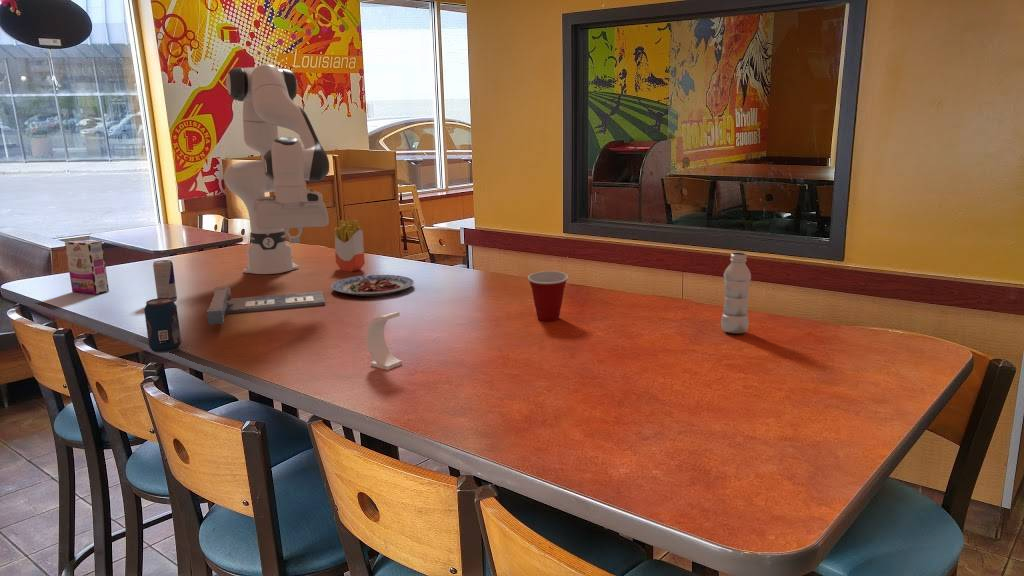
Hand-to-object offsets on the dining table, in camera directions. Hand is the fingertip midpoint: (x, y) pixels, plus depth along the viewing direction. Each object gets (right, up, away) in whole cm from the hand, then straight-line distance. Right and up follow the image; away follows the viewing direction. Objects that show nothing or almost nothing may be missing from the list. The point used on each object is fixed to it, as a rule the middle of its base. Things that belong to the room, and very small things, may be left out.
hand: (294, 242), depth 210 cm
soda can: (-19, -28, -38) cm, 51 cm away
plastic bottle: (+119, -24, -30) cm, 125 cm away
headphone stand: (+35, -30, -50) cm, 68 cm away
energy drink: (-41, -17, +9) cm, 45 cm away
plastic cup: (+73, -22, -16) cm, 78 cm away
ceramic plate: (+19, -14, +20) cm, 31 cm away
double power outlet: (-8, -18, +3) cm, 20 cm away
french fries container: (+5, -7, +49) cm, 50 cm away
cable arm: (-16, -19, -13) cm, 28 cm away
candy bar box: (-72, -15, +21) cm, 76 cm away
